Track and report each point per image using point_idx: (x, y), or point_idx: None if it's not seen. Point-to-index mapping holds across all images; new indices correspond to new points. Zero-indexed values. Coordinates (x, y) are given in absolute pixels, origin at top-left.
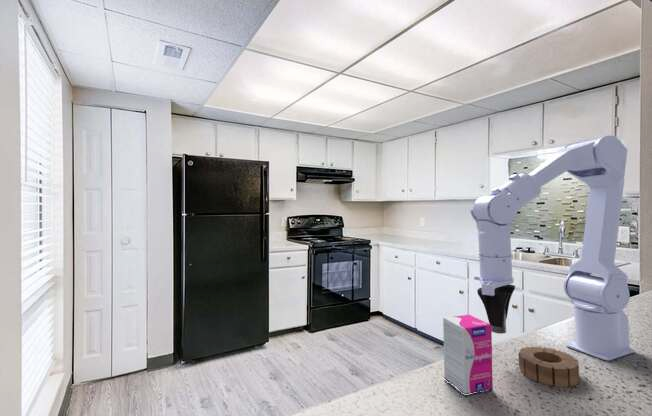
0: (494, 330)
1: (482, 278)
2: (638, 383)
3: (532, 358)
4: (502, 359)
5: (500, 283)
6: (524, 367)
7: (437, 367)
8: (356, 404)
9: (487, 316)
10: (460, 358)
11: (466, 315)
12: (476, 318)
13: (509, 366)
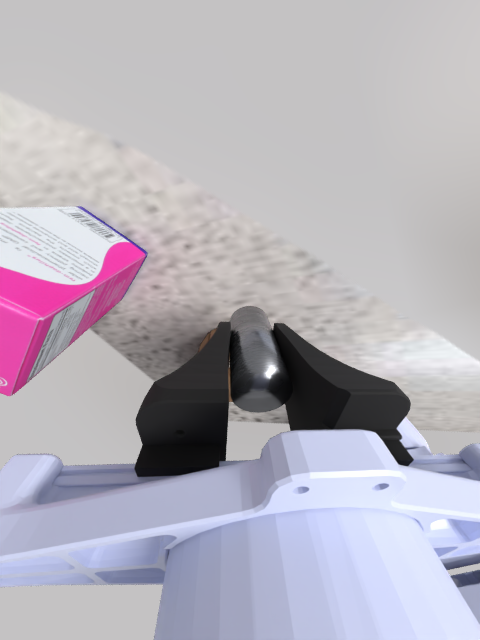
0: (230, 321)
1: (193, 533)
2: (261, 418)
3: None
4: (257, 294)
5: (116, 574)
6: (210, 338)
7: (129, 166)
8: None
9: (216, 331)
10: None
11: (5, 314)
12: (18, 352)
13: (232, 308)
